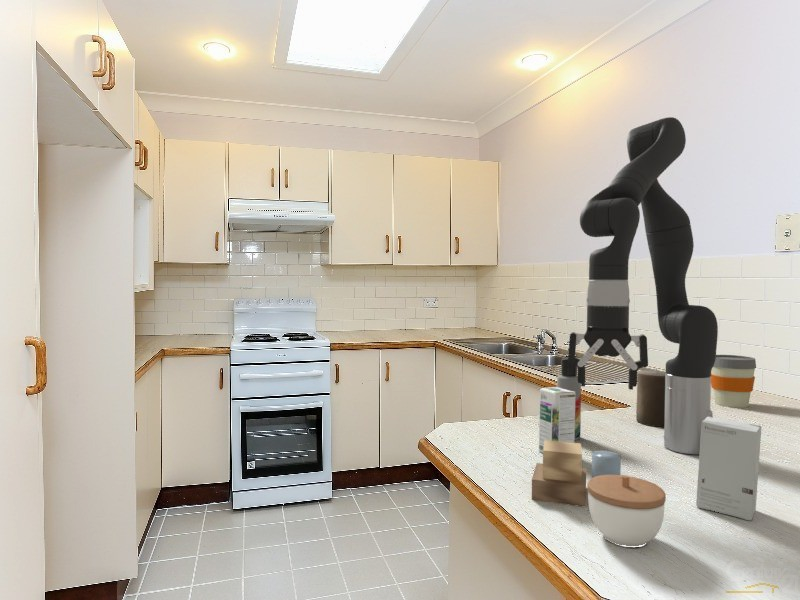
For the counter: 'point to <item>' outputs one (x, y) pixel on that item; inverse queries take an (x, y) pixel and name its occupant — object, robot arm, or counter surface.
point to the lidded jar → (626, 508)
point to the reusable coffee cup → (733, 380)
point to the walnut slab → (558, 489)
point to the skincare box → (728, 467)
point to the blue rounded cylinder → (605, 463)
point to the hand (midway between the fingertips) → (606, 387)
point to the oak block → (562, 461)
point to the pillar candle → (651, 398)
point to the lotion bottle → (571, 389)
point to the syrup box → (556, 415)
